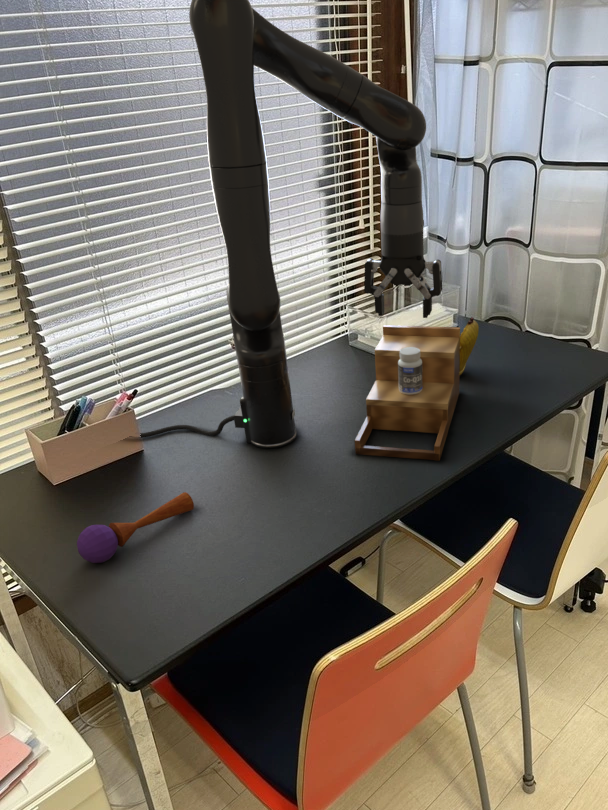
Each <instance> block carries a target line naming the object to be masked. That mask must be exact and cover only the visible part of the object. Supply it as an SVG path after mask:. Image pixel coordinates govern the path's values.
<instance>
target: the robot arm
mask: <svg viewBox="0 0 608 810" xmlns="http://www.w3.org/2000/svg"><path fill="white" fill-rule="evenodd" d="M188 16H189V24H190V28H191V31H192V33H193V37H194V40H195V43H196V48H197V53H198V57H199V61H200V66H201V67H200V68H201V71H202V77H203V82H204V87H205V96H206V140H207V142H206V143H207V157H208V158H207V159H208V165H209V173H210V181H211V187H212V194H213V200H214V204H215V209H216V213H217V218H218V222H219V226H220V229H221V233H222V236H223V241H224V244H225V245H224V246H225V249H226V250H225V251H226V256H227V257H226V258H227V268H228V269H227V270H228V283H227V287H226V301H227V306H228V313H229V318H230V324H231V331H232V338H233V344H234V350H235V355H236V361H237V367H238V374H239V380H240V385H241V391H242V396H241V398H240V399H239V408H238V409H237V411H236V412H235V413H234V414H233V415H230V416H228V417H226V418H224V419H222V420H221V421H220V422H219V424H218V426H217V428H216V429H215V430H211V431H210V430H205V429H202V428H200V427H197V426H194V425H189V424H188V425H187V424H177V425H171V426H166V427H165V426H164V427H162V428H159V429H155V430H151V431H146V432H139V433H140V434H141V435H140V436H141V438H142V439H143V438H148V437H154V436H158V435H161V434H164V433H168V432H172V431H173V432H174V431H180V430H187V431H192V432H195V433H198V434H201V435H205V436H210V437H212V436H213V437H215V436H218V435H220V434H221V433H222V431H223V429H224V427H225V425H227V424H229V423H230V422H234V427H235V428H236V429H244V434H245V441H246V443H247V444H252V445H253V446H255V447H257V448H260V449H276V448H281V447H284V446H286V445H289V444H291V443H292V442H294V440H296V438H297V435H298V433H297V429H296V420H295V415H296V411H295V409H294V406H293V405H294V404H293V396H292V389H291V379H290V373H289V364H288V357H287V349H286V348H287V347H286V340H285V336H284V335H285V334H284V330H283V324H282V316H281V306H282V305H281V304H282V303H281V302H282V300H281V295H280V292H279V290H278V283H277V280H276V274H275V270H274V263H273V259H272V250H271V201H270V200H271V199H270V181H269V180H270V179H269V171H268V159H267V153H266V145H265V137H264V133H263V127H262V123H261V122H262V121H261V117H260V112H259V106H258V101H257V96H256V95H257V94H256V87H255V86H256V85H255V68H257V69H259V70H261V71H263V72H266V73H267V74H269V75H271V76H273V77H275V78H276V79H277V80H280V81H281V82H283V83H285V84H286V85H288V86H289V87H291V88H292V89H294V90H295V91H297V92H298V93H299V94H301V95H303V96H304V97H305V98H307V99H308V100H310V101H312V102H313V103H315V104H316V105H318V106H320V107H321V108H323V109H325V110H327V111H329V112H330V113H332V114H333V115H335V116H337V117H339V118H340V119H343V120H345V121H347V122H348V123H350V124H352V125H353V124H354V125H356V126H358V127H361V128H362V129H364V130H365V131H366V132H368V133H370V134H372V135H373V136H375V141H376V147H377V155H378V161H379V166H380V195H381V196H380V197H381V204H380V205H381V207H380V241H381V259H380V260H375V259H374V258H373V257H370V258H368V259H367V260H366V261H365V263H364V278H363V279H364V284H363V285H364V287H363V288H364V289H363V290H364V293H365V294H367V295H368V294H370V295H372V296H373V297H374V311H375V313H376V314H377V315H378V317H383V316H384V314H385V294H384V293H383V292H384V291H385V290H386V289H387V287H388V286H389V285H390V284H391V285H393V286H405V287H406V286H407V287H411V286H412V285H413V286H414V287H415V288H416V290H417V291H419V292H420V293H421V295H422V296H423V298H422V318H423V319H428V317H429V316H430V315H431V314H432V311H433V298H434V297H438V296H440V295H441V293H442V291H443V273H442V261H441V260H440V259H435V260H433V261H426V259H425V257H424V226H425V219H424V207H423V176H422V171H421V167H420V166H419V164H418V161H417V147H418V146H419V145H420V144H421V143H422V142H423V140H424V138H425V136H426V133H427V120H426V118H425V117H426V116H425V115H424V113H423V111H422V110H421V108H419V107H418V106H417V105H416V104H414V103H412V102H410V101H409V100H407V99H405V98H403V97H401V96H400V95H397V94H395V93H393V92H391V91H389V90H388V89H385V88H383V87H382V86H379V85H378V84H377V83H375V82H373V81H372V80H371V79H370V78H368V77H367V76H365V75H364V74H362V73H361V72H359V71H358V70H356V69H354V68H353V67H351V66H349V65H347V64H346V63H344V62H342V61H341V60H339V59H337V58H335V57H334V56H332V55H329V54H328V53H326V52H324V51H322V50H320V49H318V48H316V47H313V46H312V45H309V44H307V43H305V42H303V41H301V40H299V39H297V38H295V37H294V36H291V35H290V34H289V33H286V32H285V31H284V30H282V29H281V28H279V27H277V26H276V25H274V24H273V23H272V22H270V21H269V20H268V19H267V18H265V17H264V16H263V15H262V14H260V13H259V12H258V11H257V10H256V9H255V8H253V7H252V4H251V2H250V0H191V1H190V5H189V15H188ZM378 268H379V269H380V271H381V272H382V273H383V275H384V276H385V277H384V278H383V280H382V281H381V282H380V283H379V285H378V286H376V285H375V283H374V282H375V281H374V280H375V273H376V272H377V271H378ZM426 269H427V271H428V273H429V274H430V275H432V283H433V284H432V285H433V287H431V286H430V285H429V284H428V282H427V279H426V278H425V277H424V276H423V272H424V271H425V270H426ZM141 438H140V439H141Z"/></svg>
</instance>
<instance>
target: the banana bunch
mask: <svg viewBox="0 0 608 810" xmlns="http://www.w3.org/2000/svg"><path fill="white" fill-rule="evenodd" d="M479 328H480V327H479V324H478V322H477V321H476V320H475V319H474V317H473V316H472V317H470V318H469V320H468V322H467V323H466V325H465V326H464V328H463V329H462V331H461V332H460V369H459V377H461V376H462V374H463V373H464V372H465V369H466V367H467V362H468V360H469V358H470V356H471V355H472V352H473V350H474V347H475V345H476V343H477V340H478V336H479V330H480V329H479Z"/></svg>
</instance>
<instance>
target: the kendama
mask: <svg viewBox="0 0 608 810" xmlns="http://www.w3.org/2000/svg"><path fill="white" fill-rule="evenodd" d="M194 508H195V504H194V500H193V498H192V496H191V495H190V494H189V493H188V492H186V491H184V492H182V493H180V494H178V495H177V496H175V497H174V498H172V499H170V500H169V501H167V502H165V503H163V504H162V505H160V506H159V507H157V508H156V509H154V510H152V511H151V512H149V513H148V514H145V515H144V516H142V517H141V518H139V519H138V520H136V521H135V522H109V524H108V526H107V525H105V524H91V525H89V526H87V527H85V528H84V529H83V530H82V531H81V532H80V534H79V535H78V538H77V541H76V548H77V552H78V554H79V555H80V556H81V557H82V559H83V560H85V561H87V562H90V563H92V564H103V563H104V562H105V563H106V562H107V561H108V560H110V559H111V558H112V557H113V556H114V555H115V553H116V552H117V549H118V547H120V548H123V547H124V546H125V544H126V543H127V542H128V540H129V539H130V538H131V537H132V536H133V534H134V533H135V532H136V531H137V530H138V529H141V528H144V527H147V526H149V525H152V524H155V523H158V522H161V521H164V520H167V519H170V518H173V517H176V516H179V515H182V514H184V513H187V512H190V511H193V510H194Z"/></svg>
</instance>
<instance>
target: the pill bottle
mask: <svg viewBox="0 0 608 810" xmlns="http://www.w3.org/2000/svg"><path fill="white" fill-rule="evenodd" d="M398 384H399V391H400V392H401V393H403V394H406V395H413V394H418V393H420V392H421V391H422V360H421V359H420V349H418V348H415V347H406V348H403V349H401V350H400V359H399V361H398Z"/></svg>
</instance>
